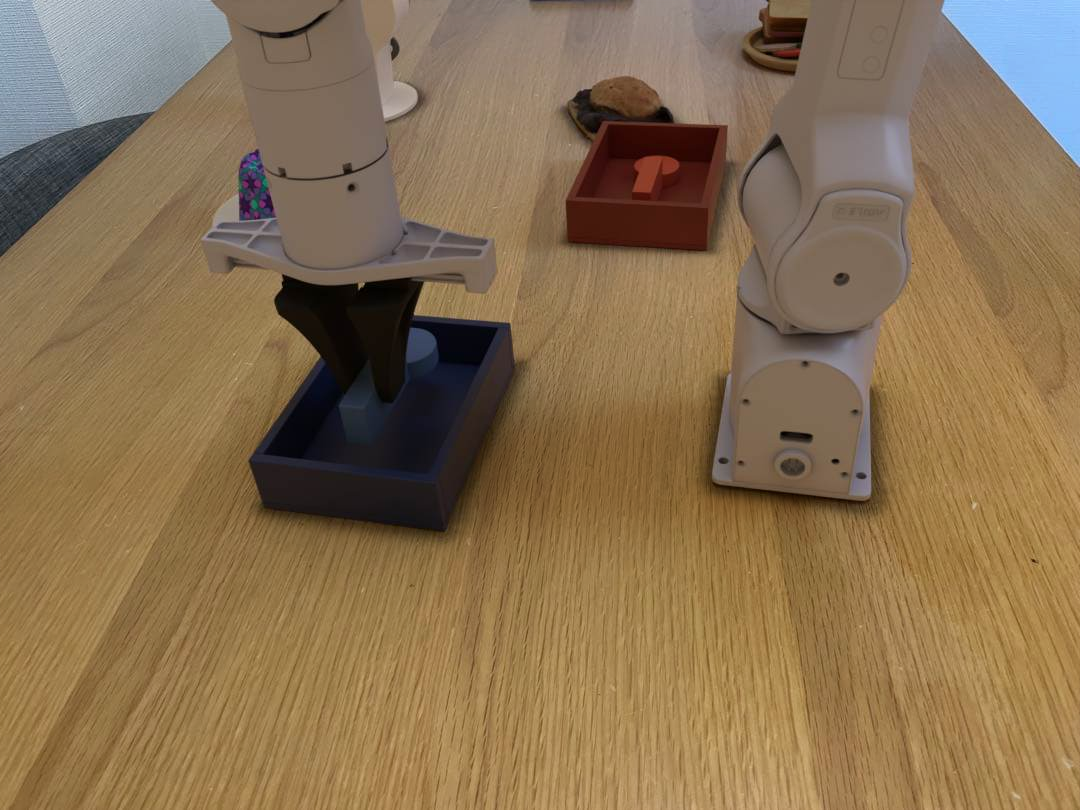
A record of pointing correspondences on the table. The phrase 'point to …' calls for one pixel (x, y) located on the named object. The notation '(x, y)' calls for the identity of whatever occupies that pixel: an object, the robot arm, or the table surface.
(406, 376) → the blue spoon
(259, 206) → the pudding
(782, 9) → the toy sandwich meal
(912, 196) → the robot arm
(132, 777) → the table surface
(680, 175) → the red bin
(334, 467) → the blue bin
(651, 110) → the bread roll
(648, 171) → the red spoon
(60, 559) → the table surface
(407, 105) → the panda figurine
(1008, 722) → the table surface
